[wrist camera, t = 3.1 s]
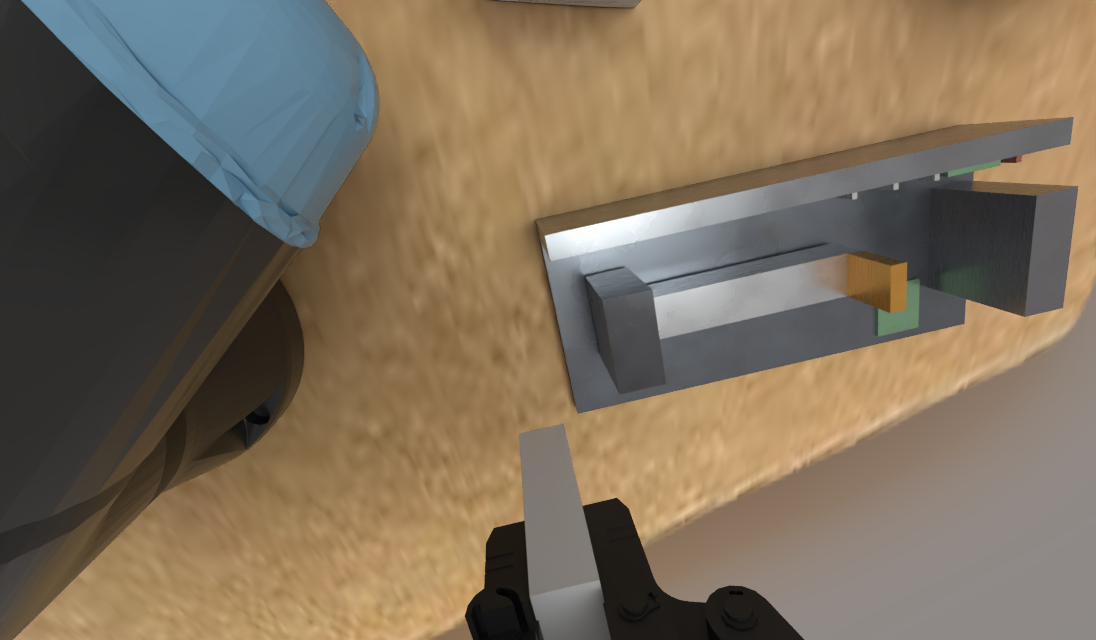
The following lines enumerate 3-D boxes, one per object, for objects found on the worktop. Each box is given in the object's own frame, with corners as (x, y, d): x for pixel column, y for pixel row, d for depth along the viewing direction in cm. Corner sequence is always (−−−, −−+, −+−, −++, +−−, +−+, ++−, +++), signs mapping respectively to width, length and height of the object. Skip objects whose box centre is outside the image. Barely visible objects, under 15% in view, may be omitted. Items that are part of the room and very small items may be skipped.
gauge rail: (575, 404, 32) (595, 470, 26) (535, 219, 29) (546, 238, 22) (948, 318, 33) (1065, 359, 26) (958, 125, 29) (1097, 115, 22)
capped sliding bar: (600, 356, 30) (622, 400, 25) (585, 276, 28) (604, 303, 23) (834, 303, 30) (905, 334, 25) (832, 220, 29) (907, 235, 23)
